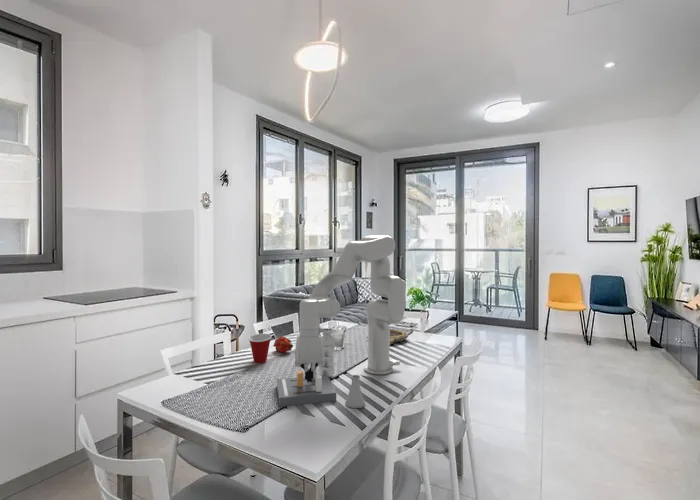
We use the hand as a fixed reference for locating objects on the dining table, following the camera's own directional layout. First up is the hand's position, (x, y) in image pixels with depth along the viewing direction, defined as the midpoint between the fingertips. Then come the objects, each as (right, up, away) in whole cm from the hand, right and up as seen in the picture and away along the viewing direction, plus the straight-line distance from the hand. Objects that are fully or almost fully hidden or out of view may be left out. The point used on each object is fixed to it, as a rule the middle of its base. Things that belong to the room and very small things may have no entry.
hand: (309, 380), depth 140 cm
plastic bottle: (+6, -5, +17) cm, 18 cm away
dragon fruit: (-19, -3, +51) cm, 55 cm away
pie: (+39, -4, +77) cm, 87 cm away
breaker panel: (-1, -5, 0) cm, 5 cm away
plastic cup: (-27, -4, +36) cm, 45 cm away
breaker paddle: (-3, -2, -1) cm, 4 cm away
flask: (+17, -5, -9) cm, 20 cm away
